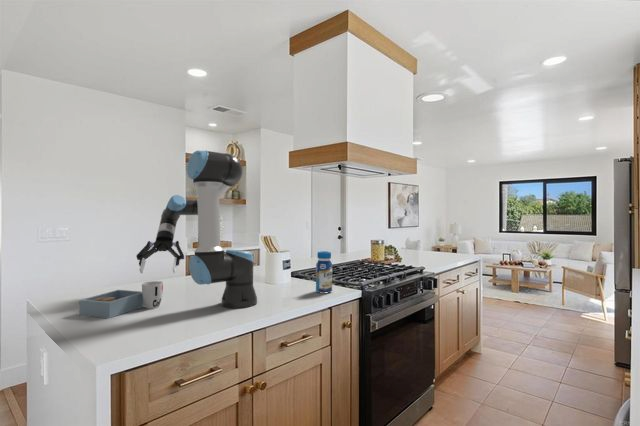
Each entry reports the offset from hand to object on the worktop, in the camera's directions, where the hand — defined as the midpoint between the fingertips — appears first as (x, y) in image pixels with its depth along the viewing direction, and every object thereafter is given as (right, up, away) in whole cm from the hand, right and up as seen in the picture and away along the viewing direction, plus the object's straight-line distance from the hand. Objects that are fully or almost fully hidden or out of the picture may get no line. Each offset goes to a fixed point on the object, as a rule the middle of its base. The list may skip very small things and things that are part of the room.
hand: (157, 271), depth 160 cm
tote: (-11, -13, -14) cm, 22 cm away
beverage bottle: (+74, -14, +21) cm, 78 cm away
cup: (+2, -14, -9) cm, 17 cm away
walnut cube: (-12, -13, -19) cm, 26 cm away
